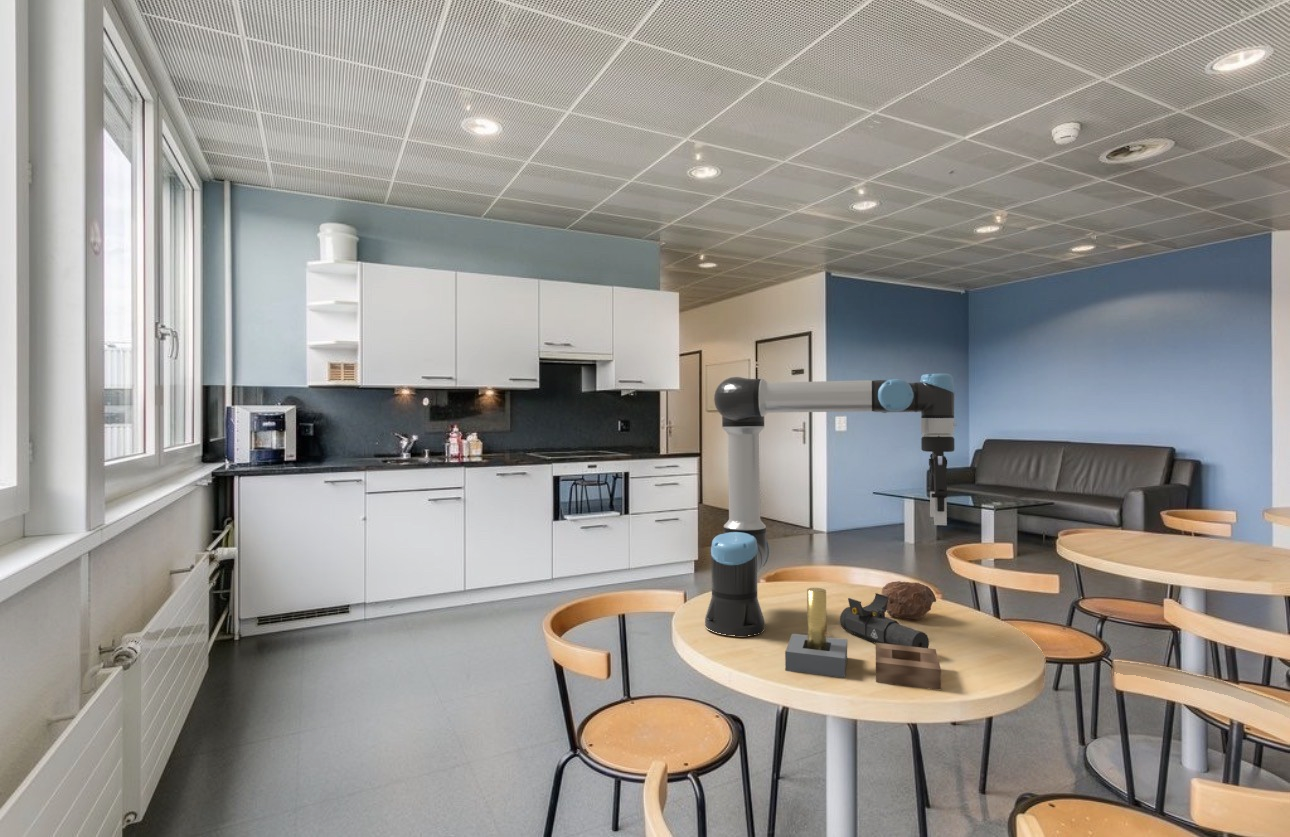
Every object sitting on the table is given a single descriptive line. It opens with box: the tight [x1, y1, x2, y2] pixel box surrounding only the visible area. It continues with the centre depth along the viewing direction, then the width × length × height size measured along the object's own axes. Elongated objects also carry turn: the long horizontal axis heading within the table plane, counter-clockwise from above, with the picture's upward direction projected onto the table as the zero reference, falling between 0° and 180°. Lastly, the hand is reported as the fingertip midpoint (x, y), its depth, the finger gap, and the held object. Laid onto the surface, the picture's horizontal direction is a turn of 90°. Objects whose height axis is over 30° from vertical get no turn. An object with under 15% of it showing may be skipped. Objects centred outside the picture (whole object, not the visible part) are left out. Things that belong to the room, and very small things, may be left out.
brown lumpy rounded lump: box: [881, 580, 937, 621], centre depth 170 cm, size 13×11×10 cm
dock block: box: [875, 643, 942, 690], centre depth 131 cm, size 12×12×4 cm
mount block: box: [784, 633, 848, 679], centre depth 137 cm, size 12×12×4 cm
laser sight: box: [839, 592, 930, 648], centre depth 150 cm, size 10×22×10 cm, turn 28°
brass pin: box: [806, 587, 827, 651], centre depth 137 cm, size 4×4×16 cm
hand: (938, 521), depth 157 cm, fingers open, 13 cm apart
